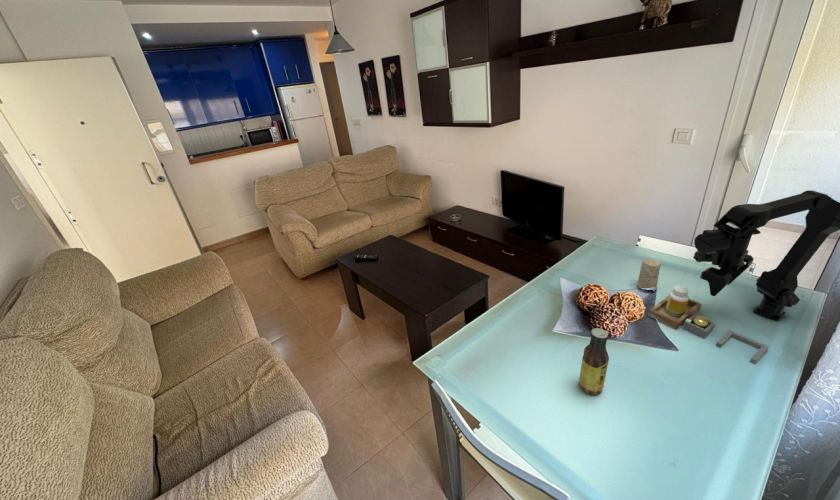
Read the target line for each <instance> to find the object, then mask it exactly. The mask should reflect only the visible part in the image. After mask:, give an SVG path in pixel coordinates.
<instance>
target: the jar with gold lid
mask: <svg viewBox="0 0 840 500" xmlns="http://www.w3.org/2000/svg"><path fill="white" fill-rule="evenodd" d="M708 320H709V319H708V318H707V317H705V316H703V315H697V316H695V317H694V320H693V323H692V324H695V325H697V326H699V327H701V328H704V329H706V327H707V324H708Z"/></svg>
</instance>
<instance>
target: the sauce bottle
mask: <svg viewBox="0 0 840 500" xmlns="http://www.w3.org/2000/svg"><path fill="white" fill-rule="evenodd" d="M608 339H609V333H608V331H606V330H605V329H602V328H599V327H597V328H596V327H595V328H592V329H591V331H590V341H589V344H588V345H586V346H584V347H585V348H584V350H583V355H582V360H581V364H580V365H581V366H580V371H579V373H580V374H579V383H578V384H579V387H580V389H581V390H582V391H583V392H584V393H585V394H588V395H592V396H596V395H600V394H601V393H602V392H603V389H604V387H605V386H604V385H605V382H606V376H607V372H608V366H609V360H610V356H609V354H608V350H607V341H608Z"/></svg>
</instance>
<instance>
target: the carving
mask: <svg viewBox="0 0 840 500" xmlns="http://www.w3.org/2000/svg"><path fill="white" fill-rule="evenodd" d="M661 267H662V263H661V261H659V260H658V259H655V258H645V259H643V260H642V263H641V265H640V271H639V273H638V274H639V275H638V277H637V286H638V288H639V289H640V288H651V287H656V288H658V287H657V286H658V283H659V282H658V281H659V275H660V269H661Z"/></svg>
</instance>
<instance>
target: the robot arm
mask: <svg viewBox="0 0 840 500" xmlns="http://www.w3.org/2000/svg"><path fill="white" fill-rule="evenodd" d="M805 211H808V212H807V213H806V215H805V216H804V217H805V228H804V230H803V232H802V233H801V234H800V236H799V237H798V238H797V240H796V241H795V242H794V243H793V245H792V246H791V248H790V249H789V250H788V252H786V254H785V256H784V257H783V258H782V259H781V261H780V262H779V263H778V266H776V267H775V268H774V269H771V270H769V271H767V270H764V271H763V272H762V273H761V274H760V276H759V277H758V278H757V279H756V280H755V282H756V283H755V287H756V292H757V293H760V294H762V298H761V300H760V302H759V304H758V305H757V306H756V307H755V308H754V309H753V310H752V312H753V313H754V314H757V315H760V316H762V317H765V318H768V319H770V320H773V321H777V322H779V321H780V320H781V319H782V318H783V317H784V316H785V315H786V313H787V312H786V311H784V310H785V308H786V307H787V308H791V307H793V306H796V305H797V304H798V303H799V302H800V300H801V298H799V297H798V296H797V295H796V294H795V291H796V290H797V288H798V286H799V284H798V282H799V281H798V276H799V274H800V273H801V271H802V270H803V269H804V267H805V266H806V265H808V262H809V261H810V260H811V259H812V257H813V256H814V255H815V253H816V252H817V251H819V248H820V247H821V246H822V244H824V242H825V241H826V239H827V238H828V237H829V236H830V235H831V234H833V233H836V232H839V231H840V202H839V201H837V200H835V199H834V198H832V197H831V196H829V195H828V194H826V193H823V192H820V191H817V190H805V191H803V192H802V193H799V194H795V195H791V196H788V197H784V198H780V199H776V200H772V201H769V202H765V203H744V204H743V203H742V204H737V205H735V206H732V207H730V209H729V210H728V211H727V212H726V213H725V214H723V216H722V217H721V218H720V219H719V220H718V221H717V222H715V224H713V227H714V228H716V229H705V230H703V231H702V233H700V234H699V233H698V234H697V235H696V236H695V238H694V246H695V249H696V251H695V252H694V254H693V256H692V258H693V259H694V260H695V262H696V263H711V265H712V266H710V267H707V268H706V269H704V270H703V271H702V272H701V274H700V277H699V278H700V279H701V280H704V281H706V282H708V285H709V294H710V296H712V297H716V296H717V295H718V294H719V293H720V292H722V290H723V289H724V288H725V287H727V286H729V285H731V284H732V283H733V282H734V281H735V280H736V279H737V278H738V277H740V276H741V275H742V274H743V273H744V272H745V271H746V270H747V269H748V268H750V266H751V265H753V263H754V258H753V256H752V255H750V254H749V251H750V250H748V247H749V246H750V242H751V239H752V236H755V235H760V234H761V233H762V232H761V231H760V230H759V228H762V227H764V226H766V225H767V224H768V223H769V221H771V220H775V219H778V218H783V217H787V216H790V215H793V214H798V213H801V212H805ZM729 224H731V225H732V226H731V225H729ZM713 266H717V267H718V268H715V267H713Z"/></svg>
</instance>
